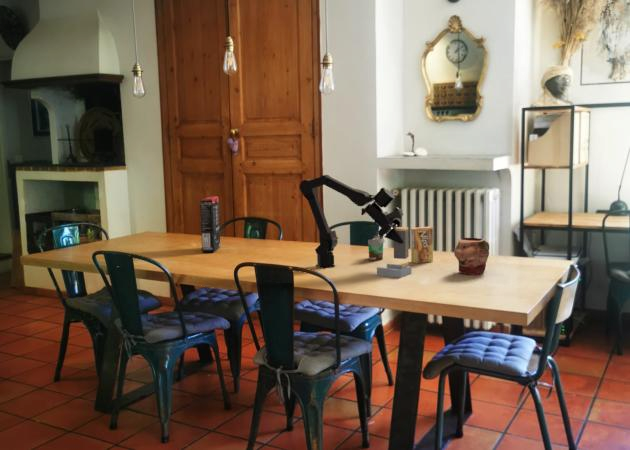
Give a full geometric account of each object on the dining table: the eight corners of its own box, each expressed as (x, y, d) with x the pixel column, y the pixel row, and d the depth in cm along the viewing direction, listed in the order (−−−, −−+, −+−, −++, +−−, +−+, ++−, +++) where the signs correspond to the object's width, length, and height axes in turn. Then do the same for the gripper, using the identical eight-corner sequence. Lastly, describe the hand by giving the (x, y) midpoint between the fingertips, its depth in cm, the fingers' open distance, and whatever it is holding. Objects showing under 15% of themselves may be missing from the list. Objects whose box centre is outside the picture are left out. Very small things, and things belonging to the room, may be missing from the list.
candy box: (429, 260, 296) (429, 226, 294) (433, 261, 292) (433, 227, 290) (411, 261, 294) (410, 227, 292) (414, 263, 290) (414, 228, 288)
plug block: (393, 258, 276) (393, 228, 274) (396, 256, 280) (396, 226, 278) (405, 258, 274) (405, 229, 272) (408, 256, 278) (408, 227, 277)
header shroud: (377, 275, 270) (376, 263, 269) (388, 270, 277) (387, 259, 276) (400, 277, 263) (400, 265, 263) (411, 273, 271) (411, 261, 270)
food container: (381, 262, 295) (381, 240, 294) (368, 261, 297) (367, 239, 296) (387, 257, 307) (387, 235, 305) (374, 256, 309) (374, 235, 307)
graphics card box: (208, 247, 350) (205, 196, 346) (221, 247, 350) (218, 195, 346) (201, 253, 333) (198, 199, 329) (215, 253, 333) (212, 199, 329)
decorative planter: (473, 266, 281) (473, 233, 279) (499, 269, 272) (499, 236, 270) (446, 274, 267) (446, 240, 265) (473, 278, 258) (473, 243, 256)
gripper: (385, 204, 267) (412, 232, 264) (397, 199, 284) (422, 225, 281) (366, 223, 271) (393, 251, 268) (379, 217, 288) (404, 243, 285)
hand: (404, 242), depth 276 cm, fingers closed on plug block, 5 cm apart
